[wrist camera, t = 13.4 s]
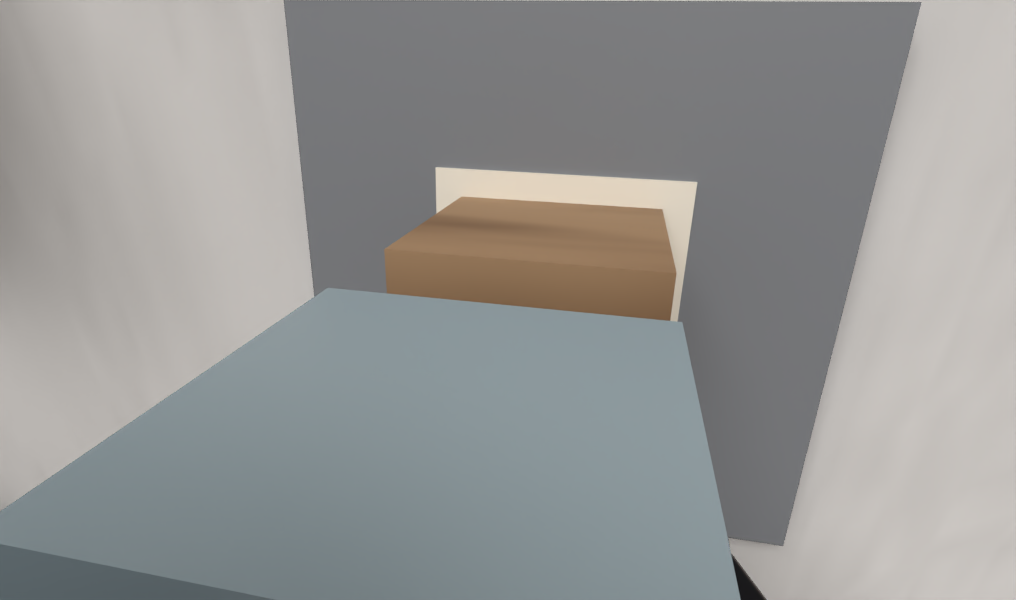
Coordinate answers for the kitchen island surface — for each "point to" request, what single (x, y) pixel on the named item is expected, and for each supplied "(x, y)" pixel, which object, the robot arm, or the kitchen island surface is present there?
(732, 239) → the baseplate
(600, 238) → the walnut block
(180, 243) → the kitchen island surface
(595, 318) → the cap block
